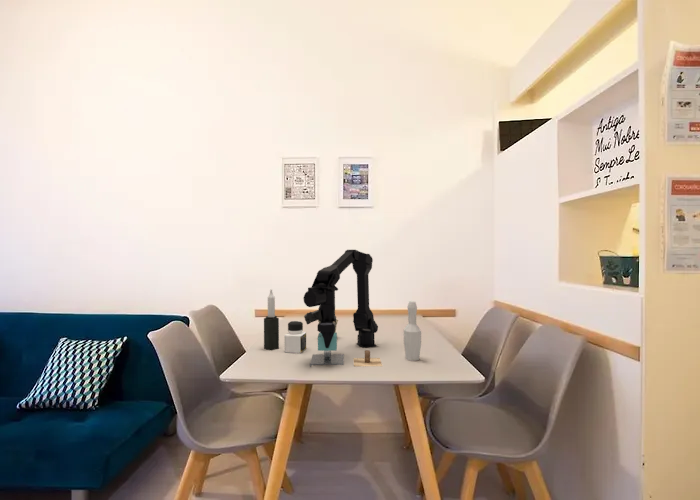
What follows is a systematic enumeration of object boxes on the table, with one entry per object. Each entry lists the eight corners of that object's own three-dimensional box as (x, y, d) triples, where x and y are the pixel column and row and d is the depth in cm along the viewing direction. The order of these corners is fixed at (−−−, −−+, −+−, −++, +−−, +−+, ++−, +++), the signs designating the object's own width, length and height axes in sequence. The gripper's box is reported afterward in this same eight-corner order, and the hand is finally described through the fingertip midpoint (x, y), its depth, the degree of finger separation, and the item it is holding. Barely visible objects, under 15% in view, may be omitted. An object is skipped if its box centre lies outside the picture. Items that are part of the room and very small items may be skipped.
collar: (319, 345, 145) (319, 332, 145) (336, 345, 146) (336, 332, 145) (317, 350, 139) (317, 336, 139) (336, 350, 139) (336, 336, 139)
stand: (353, 359, 144) (353, 347, 144) (379, 359, 144) (379, 347, 144) (354, 368, 134) (354, 354, 134) (382, 367, 134) (382, 354, 134)
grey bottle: (400, 359, 145) (400, 301, 144) (414, 357, 147) (414, 300, 147) (409, 363, 139) (409, 303, 139) (424, 361, 141) (424, 302, 141)
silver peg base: (312, 357, 148) (312, 339, 148) (343, 356, 148) (343, 338, 148) (309, 366, 136) (309, 346, 136) (343, 366, 136) (343, 346, 136)
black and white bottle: (273, 346, 165) (272, 288, 165) (280, 348, 161) (279, 289, 161) (262, 348, 161) (262, 289, 161) (269, 350, 158) (269, 290, 157)
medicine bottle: (300, 353, 153) (300, 323, 153) (284, 352, 155) (284, 322, 155) (306, 348, 160) (306, 320, 160) (290, 348, 162) (290, 319, 162)
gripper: (308, 300, 151) (308, 339, 151) (302, 307, 133) (303, 352, 133) (336, 300, 151) (336, 339, 151) (334, 307, 133) (335, 352, 133)
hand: (327, 345), depth 142 cm, fingers closed on collar, 7 cm apart
